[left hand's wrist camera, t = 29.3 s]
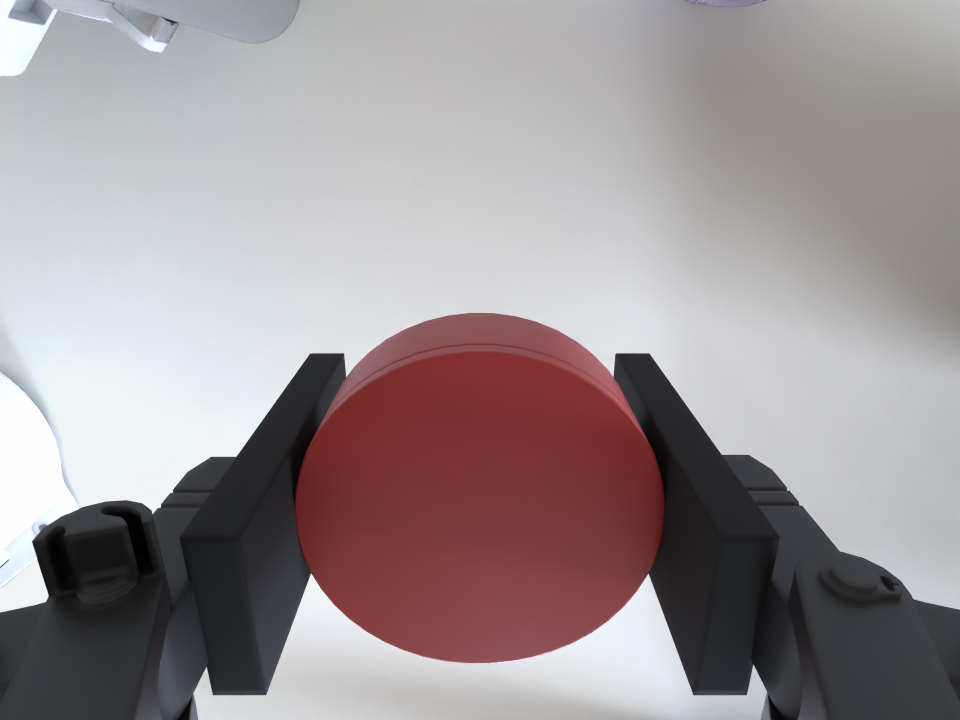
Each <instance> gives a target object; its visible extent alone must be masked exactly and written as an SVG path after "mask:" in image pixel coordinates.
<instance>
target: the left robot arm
mask: <svg viewBox="0 0 960 720" xmlns="http://www.w3.org/2000/svg"><path fill="white" fill-rule="evenodd" d="M345 379H346V371H345V359H344V354H310V355H309V356H308V357H307V359H306V360H305V362H304V363H303V365H302V366H301V367H300V369H299V370H298V372H297V373H296V374H295V376H294V377H293V379H292V380H291V381H290V383H289V384H288V386H287V387H286V388H285V390H284V391H283V393H282V394H281V395H280V397H279V398H278V400H277V401H276V402H275V404H274V405H273V407H272V408H271V409H270V411H269V412H268V414H267V415H266V416H265V418H264V419H263V421H262V422H261V423H260V425H259V426H258V428H257V429H256V430H255V432H254V433H253V435H252V436H251V437H250V439H249V440H248V442H247V443H246V444H245V446H244V447H243V449H242V450H241V451H240V453H239V454H238V456H237V457H211V458H209V459H207V460H206V461H204V462H203V463H201V464H200V465H198V466H196V467H195V468H193V469H192V470H190V471H189V472H187V473H186V475H185V476H184V477H183V478H182V480H181V481H180V482H179V483H178V484H177V486H176V487H175V488H174V489H173V493H170V494H169V495H168V497H167V498H166V499H165V500H164V501H163V503H162V504H161V508H158V509H157V510H156V511H155V512H154V514H153V515H152V511H151V510H150V509H149V508H147V507H146V506H145V505H144V504H142V503H137V502H132V501H127V500H124V501H108V502H102V503H98V504H94V505H90V506H86V507H82V508H80V509H78V510H75V511H73V512H71V513H68V514H66V515H64V516H61V517H60V518H58V519H57V520H55V521H54V522H52V523H51V524H49V525H47V526H46V527H44V528H43V529H42V530H41V531H40V533H39V534H38V535H37V536H36V537H35V538H34V539H33V541H32V544H33V547H34V550H35V553H36V557H37V560H38V563H39V566H40V569H41V572H42V575H43V579H44V582H45V585H46V588H47V591H48V594H49V597H48V599H47V601H46V602H45V603H41V604H38V605H34V606H29V607H25V608H20V609H15V610H11V611H6V612H1V613H0V720H198V716H197V709H196V703H195V699H194V694H193V693H194V691H195V688H196V686H197V684H198V682H199V680H200V678H201V676H202V674H203V672H204V670H205V668H206V666H207V670H208V674H209V679H210V684H211V688H212V693H213V695H266V694H267V691H268V688H269V686H270V683H271V680H272V677H273V675H274V672H275V669H276V667H277V664H278V661H279V658H280V656H281V653H282V650H283V648H284V645H285V642H286V639H287V637H288V634H289V631H290V629H291V626H292V623H293V621H294V618H295V615H296V612H297V610H298V607H299V604H300V602H301V599H302V596H303V593H304V591H305V588H306V585H307V583H308V580H309V577H310V574H311V572H310V569H309V567H308V565H307V563H306V560H305V558H304V556H303V554H302V550H301V547H300V543H299V538H298V531H297V523H296V516H295V489H296V484H297V479H298V474H299V470H300V467H301V465H302V462H303V459H304V457H305V454H306V451H307V449H308V447H309V445H310V443H311V441H312V439H313V438H314V436H315V434H316V432H317V430H318V428H319V426H320V424H321V422H322V420H323V418H324V416H325V414H326V412H327V411H328V409H329V407H330V405H331V403H332V401H333V399H334V397H335V395H336V394H337V392H338V390H339V388H340V386H341V385H342V383H343V381H344V380H345ZM614 379H615V380H616V382H617V383H618V385H619V386H620V388H621V390H622V392H623V394H624V396H625V398H626V400H627V402H628V404H629V405H630V407H631V409H632V411H633V413H634V415H635V417H636V419H637V421H638V423H639V425H640V427H641V429H642V430H643V432H644V434H645V436H646V438H647V440H648V442H649V444H650V446H651V448H652V450H653V452H654V454H655V456H656V459H657V462H658V465H659V468H660V471H661V474H662V480H663V485H664V491H665V512H664V520H663V528H662V536H661V542H660V546H659V549H658V553H657V556H656V558H655V560H654V562H653V564H652V567H651V569H650V571H649V575H650V578H651V581H652V584H653V586H654V589H655V592H656V594H657V597H658V600H659V603H660V605H661V608H662V611H663V613H664V616H665V619H666V622H667V624H668V627H669V630H670V632H671V635H672V638H673V641H674V643H675V646H676V649H677V651H678V654H679V657H680V660H681V662H682V665H683V668H684V670H685V673H686V676H687V678H688V681H689V684H690V687H691V689H692V692H693V695H747V691H748V686H749V682H750V677H751V672H752V668H753V664H754V666H755V668H756V670H757V672H758V674H759V676H760V678H761V680H762V682H763V684H764V686H765V688H766V690H767V694H766V699H765V703H764V708H763V712H762V716H761V720H960V610H958V609H953V608H948V607H944V606H939V605H934V604H929V603H925V602H921V601H918V600H914V599H913V598H912V596H911V594H910V593H909V592H908V590H907V589H906V587H905V586H904V585H903V583H902V582H901V581H900V580H899V579H897V578H896V577H895V576H893V575H892V574H891V573H890V572H888V571H887V570H886V569H884V568H883V567H881V566H878V565H876V564H874V563H872V562H870V561H868V560H866V559H864V558H861V557H858V556H854V555H850V554H847V553H843V552H840V551H839V550H838V549H837V548H836V546H835V545H834V544H833V543H832V542H831V540H830V539H829V538H828V537H827V535H826V534H825V533H824V532H823V531H822V529H821V528H820V527H819V526H818V525H817V523H816V522H815V521H814V520H813V519H812V517H811V516H810V515H809V514H808V513H807V511H806V510H805V509H804V508H803V506H799V502H798V500H797V499H796V498H795V497H794V496H793V494H792V493H791V492H790V491H787V487H786V486H785V485H784V483H783V482H782V481H781V480H780V479H779V477H778V476H777V475H776V474H775V473H774V471H773V470H772V469H770V468H768V467H767V466H765V465H764V464H762V463H761V462H759V461H757V460H756V459H754V458H753V457H751V456H749V455H721V453H720V452H719V451H718V449H717V448H716V446H715V445H714V444H713V442H712V441H711V439H710V438H709V437H708V435H707V434H706V432H705V431H704V430H703V428H702V427H701V425H700V424H699V423H698V421H697V420H696V418H695V417H694V416H693V414H692V413H691V411H690V410H689V409H688V407H687V406H686V404H685V403H684V402H683V400H682V399H681V397H680V396H679V394H678V393H677V392H676V390H675V389H674V387H673V386H672V385H671V383H670V382H669V380H668V379H667V378H666V376H665V375H664V373H663V372H662V371H661V369H660V368H659V366H658V365H657V364H656V362H655V361H654V359H653V358H652V357H651V355H650V354H616V355H615V367H614Z"/></svg>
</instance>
